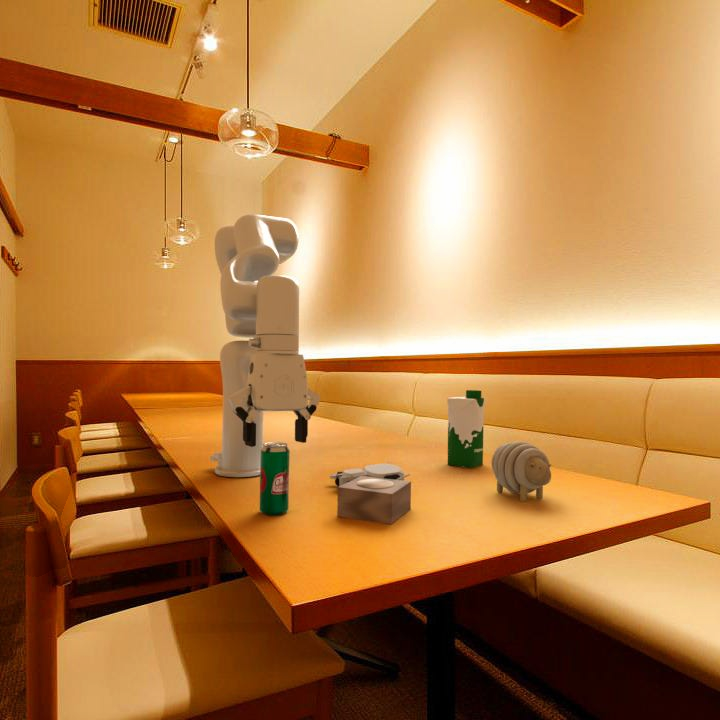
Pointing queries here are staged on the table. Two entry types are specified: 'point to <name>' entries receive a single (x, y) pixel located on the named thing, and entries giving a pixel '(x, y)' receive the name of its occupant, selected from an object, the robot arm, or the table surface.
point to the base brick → (374, 499)
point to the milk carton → (466, 429)
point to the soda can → (274, 478)
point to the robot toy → (370, 473)
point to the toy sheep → (521, 469)
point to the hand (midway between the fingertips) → (276, 443)
